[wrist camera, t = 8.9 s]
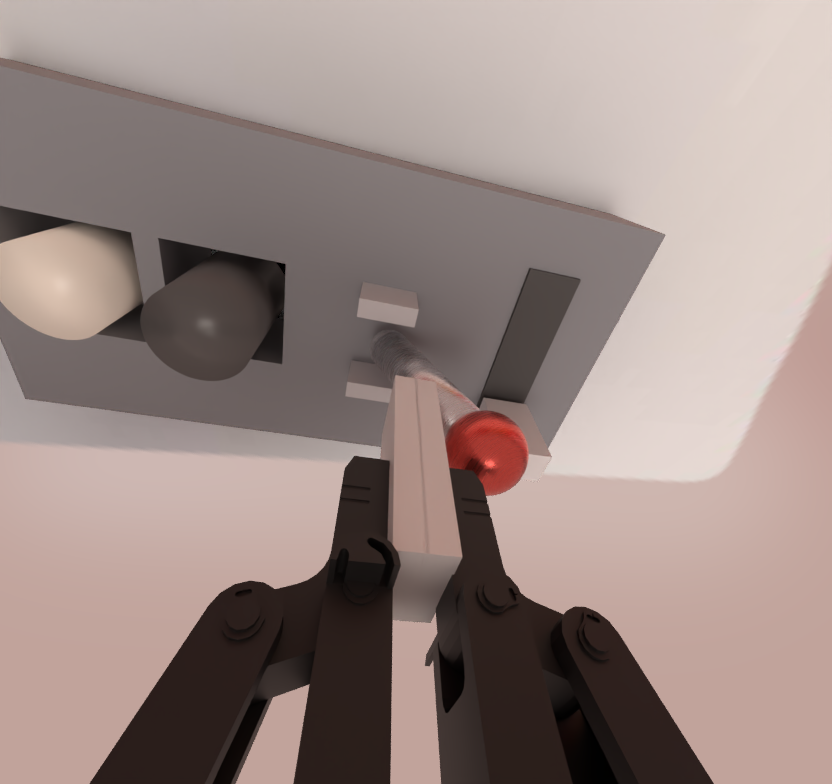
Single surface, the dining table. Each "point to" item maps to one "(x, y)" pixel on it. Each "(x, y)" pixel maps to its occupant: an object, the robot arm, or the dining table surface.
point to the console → (305, 263)
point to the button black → (214, 315)
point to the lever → (460, 418)
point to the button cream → (70, 279)
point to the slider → (526, 423)
